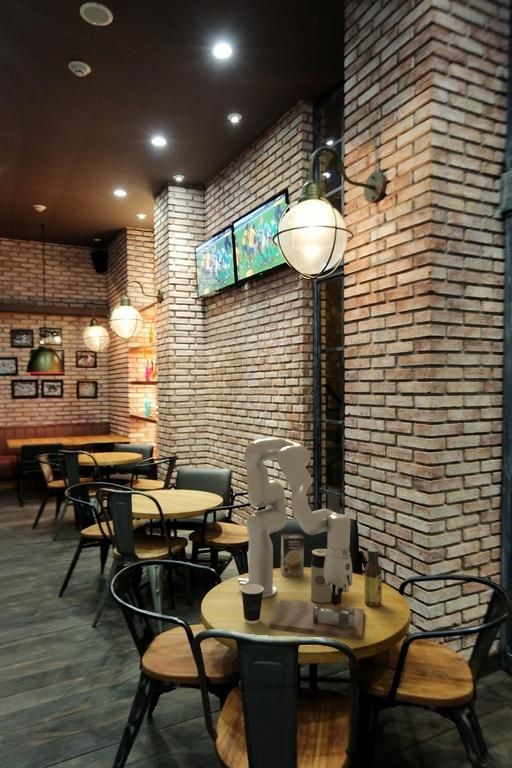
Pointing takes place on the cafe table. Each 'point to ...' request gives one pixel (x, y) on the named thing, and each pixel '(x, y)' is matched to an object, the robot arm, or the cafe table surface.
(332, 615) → the bar
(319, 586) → the travel mug
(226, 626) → the cafe table surface
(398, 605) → the cafe table surface
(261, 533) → the robot arm
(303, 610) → the jamb plate
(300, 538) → the coffee box
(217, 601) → the cafe table surface
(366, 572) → the sauce bottle
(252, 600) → the dixie cup
